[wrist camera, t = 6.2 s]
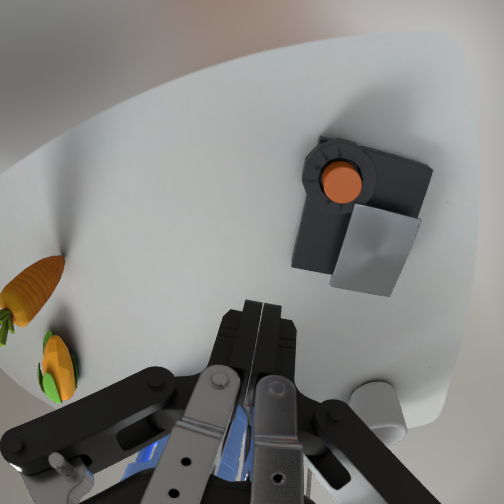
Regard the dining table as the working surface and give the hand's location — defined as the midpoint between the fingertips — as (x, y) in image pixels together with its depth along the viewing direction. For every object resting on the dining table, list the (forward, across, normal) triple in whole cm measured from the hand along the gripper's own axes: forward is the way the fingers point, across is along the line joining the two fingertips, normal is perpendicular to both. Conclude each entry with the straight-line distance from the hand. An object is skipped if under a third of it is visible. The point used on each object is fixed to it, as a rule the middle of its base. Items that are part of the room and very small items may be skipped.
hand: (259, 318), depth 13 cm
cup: (+17, -19, +27) cm, 37 cm away
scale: (+16, -7, +1) cm, 18 cm away
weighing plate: (+13, -9, +3) cm, 16 cm away
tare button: (+14, -4, -3) cm, 15 cm away
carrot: (+17, +25, +12) cm, 32 cm away
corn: (+17, +31, +34) cm, 49 cm away
